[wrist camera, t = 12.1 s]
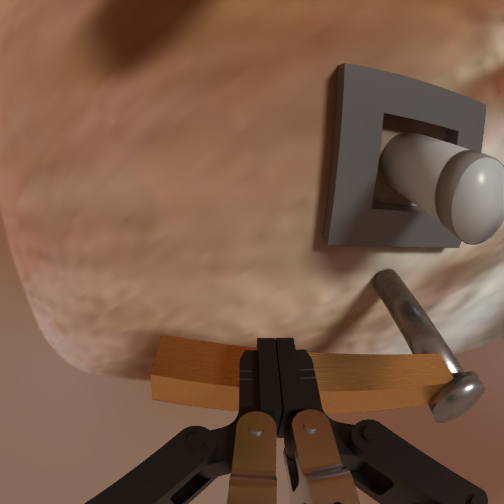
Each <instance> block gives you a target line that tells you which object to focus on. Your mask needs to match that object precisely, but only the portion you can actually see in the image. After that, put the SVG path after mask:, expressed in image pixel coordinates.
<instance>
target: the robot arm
mask: <svg viewBox="0 0 504 504" xmlns="http://www.w3.org/2000/svg"><path fill="white" fill-rule="evenodd" d="M277 436H278V438H284V444H285V448H284V452H283V453H284V461H285V466H286V472H287V478H288V483H289V489H290V504H360V502H359V498H358V495H357V491H356V488H355V486H356V487H358V488H359V489H361V490H362V491H363V492H364V493H366V494H367V495H369V496H370V497H371V498H373V499H374V500H376V501H377V502H379V503H380V504H487V503H488V498H487V495H486V493H485V491H484V490H482V489H481V488H479V487H477V486H476V485H474V484H472V483H471V482H469V481H467V480H466V479H464V478H462V477H461V476H459V475H458V474H456V473H454V472H453V471H451V470H449V469H448V468H446V467H445V466H443V465H441V464H440V463H438V462H437V461H435V460H434V459H432V458H431V457H429V456H428V455H426V454H424V453H423V452H421V451H420V450H418V449H417V448H415V447H414V446H412V445H411V444H409V443H408V442H407V441H405V440H404V439H402V438H401V437H399V436H398V435H396V434H395V433H393V432H392V431H391V430H389V429H388V428H386V427H385V426H383V425H382V424H381V423H379V422H377V421H375V420H369V419H368V420H362V421H360V422H358V423H357V424H356V425H351V424H344V423H340V422H336V421H334V420H332V419H330V418H329V417H328V416H327V415H326V414H325V413H324V411H323V408H322V404H321V399H320V394H319V389H318V384H317V379H316V374H315V371H314V365H313V360H312V358H311V356H310V355H309V354H308V352H307V351H306V350H295V344H294V339H293V338H257V350H245V351H244V353H243V354H242V356H241V358H240V367H239V413H238V416H237V418H236V419H235V420H234V422H232V423H231V424H230V425H228V426H226V427H223V428H219V429H215V430H211V431H210V430H208V429H206V428H205V427H201V426H190V427H187V428H185V429H183V430H182V431H181V432H180V433H178V434H177V435H176V436H175V437H173V438H172V439H171V440H170V441H169V442H167V443H166V444H165V445H164V446H162V447H161V448H160V449H159V450H158V451H156V452H155V453H154V454H152V455H151V456H150V457H149V458H147V459H146V460H145V461H143V462H142V463H141V464H139V465H138V466H137V467H136V468H134V469H133V470H132V471H130V472H129V473H128V474H126V475H125V476H123V477H122V478H121V479H119V480H118V481H117V482H115V483H114V484H113V485H111V486H110V487H108V488H107V489H105V490H104V491H102V492H101V493H100V494H98V495H97V496H95V497H94V498H93V499H91V500H89V501H88V502H86V503H85V504H188V503H189V502H191V501H192V500H193V499H194V498H195V497H196V496H197V495H198V494H200V493H201V492H202V491H203V490H204V489H205V488H206V487H207V486H208V485H209V484H211V483H212V482H213V481H214V480H215V479H216V478H217V477H218V476H221V475H225V474H229V473H231V475H230V481H229V489H228V498H227V504H276V500H277V499H276V497H277V479H276V437H277Z"/></svg>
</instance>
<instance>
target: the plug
mask: <svg viewBox="0 0 504 504" xmlns="http://www.w3.org/2000/svg"><path fill="white" fill-rule="evenodd" d="M382 172H383V175H384V178H385V180H386V182H387V183H388V184H389V186H391V187H392V188H393V189H394V190H396V191H397V192H399V193H400V194H401V195H403V196H404V197H406V198H407V199H409V200H410V201H411V202H413V203H414V204H416V205H417V206H418V207H420V208H421V209H423V210H424V211H425V212H427V213H428V214H429V215H431V216H432V217H433V218H435V219H436V220H437V221H439V222H440V223H441V224H442V225H443V226H444V227H445V228H446V229H448V230H449V231H450V232H451V233H453V234H454V235H455V236H456V237H458V238H459V239H460V240H461V241H463V242H464V243H467V244H472V245H473V244H479V243H482V242H484V241H486V240H487V239H489V238H490V237H491V236H492V235H493V234H494V233H495V232H496V231H497V230H498V228H499V227H500V226H501V224H502V222H503V220H504V166H503V164H502V163H501V162H500V161H499V160H497V159H495V158H493V157H491V156H488V155H485V154H483V153H480V152H477V151H474V150H469V149H466V148H464V147H461V146H458V145H455V144H452V143H448V142H445V141H442V140H439V139H435V138H432V137H429V136H425V135H422V134H418V133H414V132H403V133H400V134H398V135H396V136H395V137H393V138H392V139H391V140H390V141H389V143H388V144H387V146H386V147H385V150H384V152H383V156H382Z"/></svg>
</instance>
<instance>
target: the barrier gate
mask: <svg viewBox="0 0 504 504" xmlns="http://www.w3.org/2000/svg"><path fill="white" fill-rule="evenodd" d="M374 288H375V289H376V291H377V293H378V294H379V296H380V298H381V299H382V301H383V302H384V304H385V306H386V307H387V309H388V311H389V313H390V314H391V316H392V318H393V319H394V321H395V323H396V325H397V326H398V328H399V330H400V332H401V333H402V335H403V337H404V339H405V340H406V342H407V344H408V346H409V348H410V349H411V351H412V353H413V354H402V355H370V354H334V353H314V352H308V354H309V355H310V356H311V358H312V360H313V365H314V371H315V374H316V379H317V384H318V389H319V394H320V399H321V404H322V408H323V411H324V413H325V414H334V413H354V412H369V411H380V410H390V409H398V408H406V407H413V406H420V405H426V404H429V407H430V409H431V412H432V414H433V416H434V418H435V420H436V422H437V423H444V422H448V421H450V420H452V419H454V418H456V417H458V416H460V415H461V414H463V413H464V412H466V411H467V410H468V409H470V408H471V407H472V406H473V405H474V404H475V403H476V402H477V401H478V400H479V399H480V398H481V396H482V395H483V393H484V391H485V387H484V386H483V384H482V382H481V380H480V379H479V377H478V375H477V374H476V373H475V372H474V371H470V372H466V373H465V372H464V371H463V369H462V367H461V366H460V364H459V363H458V361H457V359H456V358H455V356H454V355H453V353H452V351H451V350H450V348H449V347H448V345H447V344H446V342H445V341H444V339H443V338H442V336H441V335H440V333H439V332H438V330H437V329H436V327H435V326H434V324H433V323H432V321H431V320H430V318H429V317H428V315H427V314H426V313H425V311H424V310H423V308H422V307H421V306H420V304H419V303H418V301H417V300H416V299H415V297H414V296H413V294H412V293H411V292H410V290H409V289H408V288H407V286H406V285H405V284H404V282H403V281H402V280H401V278H400V277H399V276H398V274H397V273H396V272H395V271H394V270H392V269H386V270H384V271H382V272H380V273H379V274H378V275H377V276H376V278H375V280H374ZM245 350H257V348H253V347H244V346H235V345H227V344H219V343H212V342H204V341H198V340H191V339H184V338H178V337H172V336H166V335H161V337H160V341H159V344H158V348H157V351H156V355H155V359H154V363H153V366H152V370H151V374H150V375H151V386H152V396H153V400H158V401H163V402H169V403H175V404H181V405H188V406H196V407H203V408H211V409H219V410H230V411H239V367H240V358H241V356H242V354H243V353H244V351H245Z"/></svg>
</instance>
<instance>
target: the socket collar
mask: <svg viewBox="0 0 504 504" xmlns="http://www.w3.org/2000/svg"><path fill="white" fill-rule="evenodd" d="M485 113H486V105H485V104H483V103H480V102H478V101H476V100H473V99H471V98H468V97H466V96H463V95H460V94H458V93H455V92H452V91H450V90H447V89H444V88H441V87H438V86H435V85H432V84H429V83H426V82H422V81H419V80H416V79H412V78H409V77H405V76H401V75H397V74H394V73H390V72H385V71H381V70H377V69H372V68H367V67H362V66H357V65H352V64H346V63H344V64H341V65H338V74H337V95H336V112H335V126H334V139H333V151H332V162H331V172H330V181H329V191H328V199H327V208H326V216H325V223H324V231H323V238H324V240H325V242H326V244H327V245H329V246H390V247H439V248H459V246H460V243H461V240H460V239H459V238H458V237H456V236H455V235H454V234H453V233H451V232H450V231H449V230H448V229H446V228H445V227H444V226H443V225H442V224H441V223H440V222H439V221H437V220H436V219H435V218H433V217H432V216H431V215H429V214H428V213H427V212H425V211H424V210H423V209H421V208H420V207H418V206H408V205H396V204H383V203H373V197H374V191H375V184H376V177H377V170H378V162H379V154H380V146H381V137H382V127H383V115H384V114H390V115H395V116H399V117H404V118H409V119H413V120H417V121H422V122H426V123H430V124H433V125H437V126H441V127H445V128H448V132H447V140H446V142H448V143H452V144H455V145H458V146H461V147H464V148H466V149H469V150H474V151H477V152H480V153H481V149H482V141H483V133H484V124H485Z"/></svg>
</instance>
